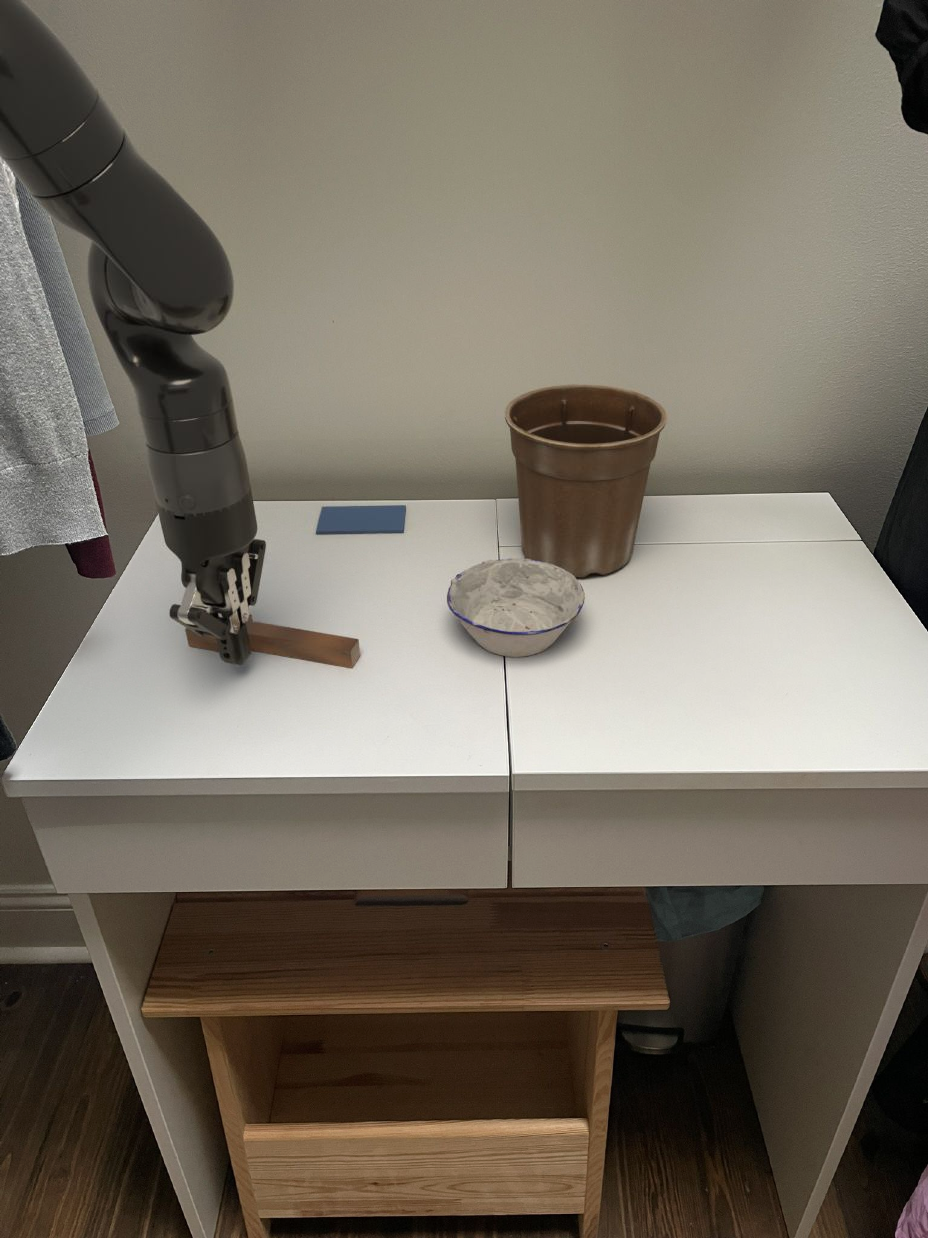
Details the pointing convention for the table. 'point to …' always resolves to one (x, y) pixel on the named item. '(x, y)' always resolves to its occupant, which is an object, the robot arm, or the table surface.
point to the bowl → (515, 604)
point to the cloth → (361, 519)
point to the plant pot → (582, 472)
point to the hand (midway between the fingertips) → (236, 659)
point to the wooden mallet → (291, 643)
